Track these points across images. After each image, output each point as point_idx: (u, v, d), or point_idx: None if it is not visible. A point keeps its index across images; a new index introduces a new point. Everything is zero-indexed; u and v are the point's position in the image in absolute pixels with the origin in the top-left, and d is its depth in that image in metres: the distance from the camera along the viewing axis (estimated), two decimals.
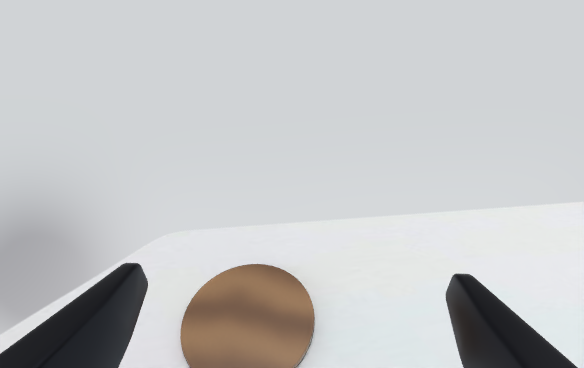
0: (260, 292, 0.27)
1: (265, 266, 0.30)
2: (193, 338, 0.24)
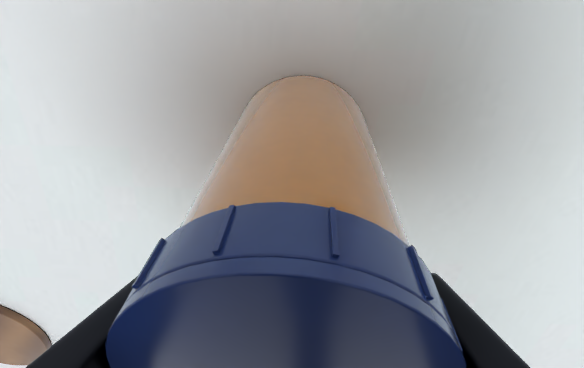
0: None
1: None
2: (9, 360, 0.32)
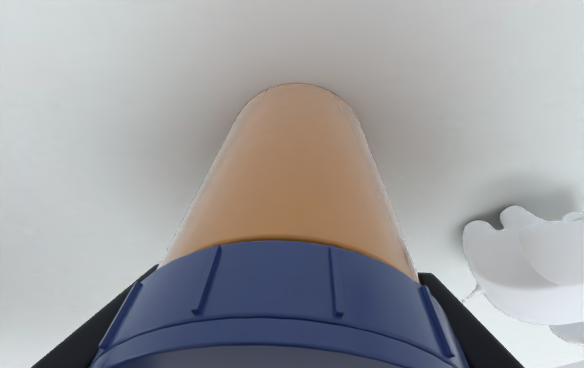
0: None
1: None
2: None
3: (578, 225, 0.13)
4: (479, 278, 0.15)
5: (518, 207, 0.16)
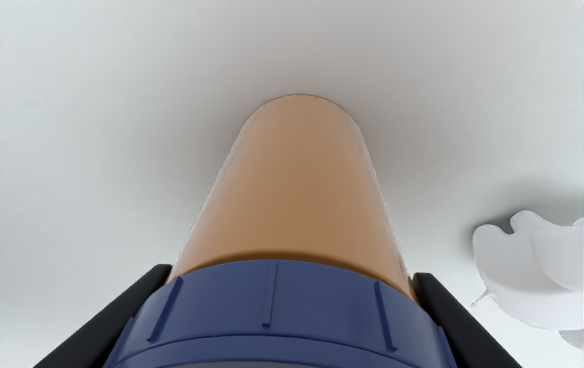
0: None
1: None
2: None
3: None
4: (489, 282, 0.15)
5: (529, 212, 0.16)
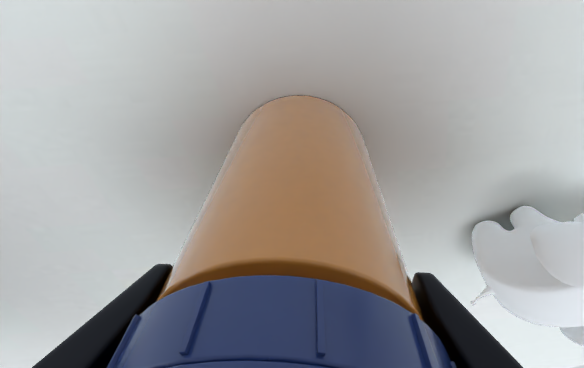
0: None
1: None
2: None
3: None
4: (489, 279, 0.15)
5: (529, 207, 0.16)
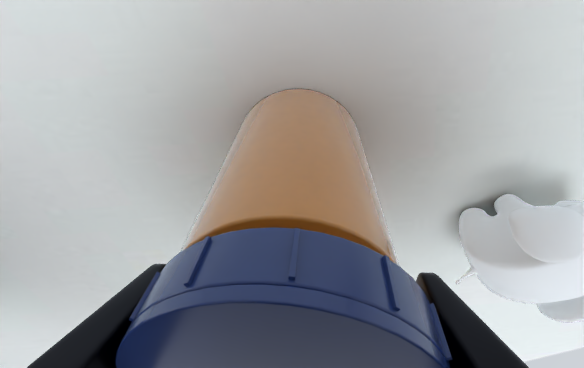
0: None
1: None
2: None
3: (563, 209, 0.14)
4: (472, 259, 0.16)
5: (511, 195, 0.17)
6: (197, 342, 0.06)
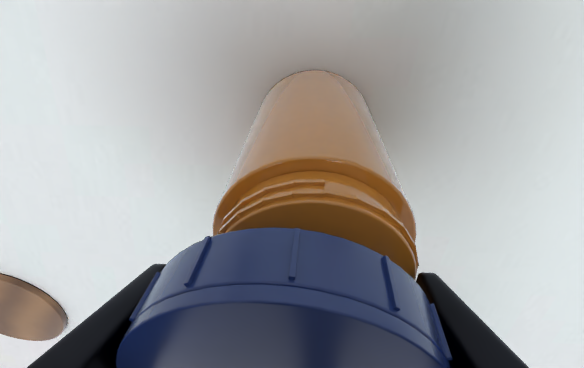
0: None
1: None
2: (27, 335, 0.34)
3: None
4: None
5: None
6: (197, 342, 0.06)
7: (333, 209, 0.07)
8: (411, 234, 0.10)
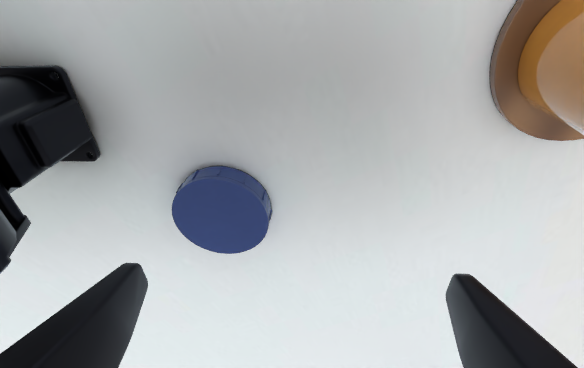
0: None
1: None
2: None
3: None
4: None
5: None
6: (253, 233, 0.23)
7: None
8: None
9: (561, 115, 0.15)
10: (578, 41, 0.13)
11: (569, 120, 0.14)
